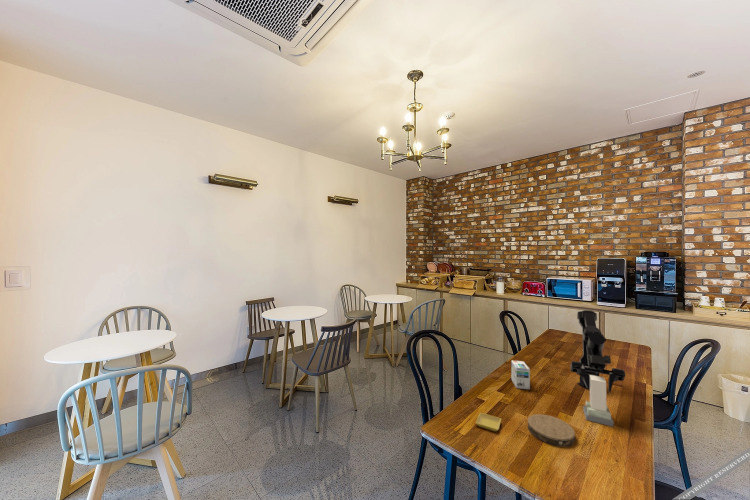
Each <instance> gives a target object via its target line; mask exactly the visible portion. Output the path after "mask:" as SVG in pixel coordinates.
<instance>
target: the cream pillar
mask: <svg viewBox="0 0 750 500" xmlns="http://www.w3.org/2000/svg"><path fill="white" fill-rule="evenodd" d="M589 402H590V405H591V409H595V410H600V411H604V412H606V406H607V381H606V379H605V377H604V376H600V375H599V376H594V375H590V389H589Z"/></svg>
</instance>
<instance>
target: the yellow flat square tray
mask: <svg viewBox="0 0 750 500" xmlns="http://www.w3.org/2000/svg"><path fill="white" fill-rule="evenodd" d="M501 423H502V418H500V417H497V416H494V415H491V414H487V413H483V412H479V414H478V416H477V418H476V421H475V424H476V425H477V426H478V427H480V428H483V429H486V430H489V431H493V432H497V431H499V430H500V425H501Z"/></svg>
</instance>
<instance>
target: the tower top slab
mask: <svg viewBox="0 0 750 500" xmlns="http://www.w3.org/2000/svg"><path fill="white" fill-rule="evenodd" d="M585 406H586V409H587V413H588V415H590V416H594V417H599V418H603V419H607V420H611V417H612V414H611V411H610V409H609V407H608V405H606V412H604V411H600V410H595V409H591V405H590V401H587V400H585Z"/></svg>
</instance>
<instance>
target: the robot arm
mask: <svg viewBox="0 0 750 500" xmlns="http://www.w3.org/2000/svg"><path fill="white" fill-rule="evenodd" d="M576 318H577V320H578V323H579V325H580V326H581V329H582V330H581V332H582V333H581V334H582V336H581V337H582V356H581V358H579V361H576V360H575V361H574V360H573V361H571V362H570V372H571V373H576V375H579V382H577V385H580V387H583V388H584V389H587V390H590V375H594V376H600V374H602V375H607V376H609V377H608V380H607V381H608V382H607V384H608V385H607V386H608V388H607V389H608V393H611V391H612V389H613V385H614V382H618V381H620V382H622V381H624V380H625V378H626V371H625V370H624V369H622V368H616V367H612V368H611V370H609V369H606V365H607V364H609V365H610V364H611V363H612V362H611V361H612V359H611V356H610V355H603V350H604V346H605V342H607V338H606V336H604V334H602V330H601V329H599V328H598V327H597V323H596V322H597V321H598V314H597V312H595V311H593V310H589V309H584V310H579V311H577V314H576Z"/></svg>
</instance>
